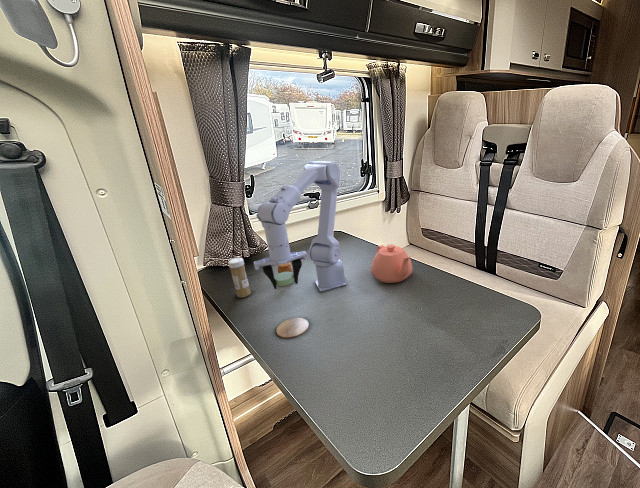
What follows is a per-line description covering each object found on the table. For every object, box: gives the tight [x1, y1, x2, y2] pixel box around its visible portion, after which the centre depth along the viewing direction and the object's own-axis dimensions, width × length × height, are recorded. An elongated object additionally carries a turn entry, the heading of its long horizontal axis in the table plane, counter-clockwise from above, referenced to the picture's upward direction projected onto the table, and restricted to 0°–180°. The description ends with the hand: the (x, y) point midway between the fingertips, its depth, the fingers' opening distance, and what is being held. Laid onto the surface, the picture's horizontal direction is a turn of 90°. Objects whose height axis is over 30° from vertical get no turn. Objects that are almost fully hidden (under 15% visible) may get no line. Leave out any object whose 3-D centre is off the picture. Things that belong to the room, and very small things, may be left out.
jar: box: [276, 262, 293, 274], centre depth 117 cm, size 5×5×8 cm
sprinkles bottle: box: [227, 257, 252, 299], centre depth 108 cm, size 5×5×13 cm
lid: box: [274, 272, 295, 287], centre depth 95 cm, size 6×6×2 cm
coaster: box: [276, 317, 310, 339], centre depth 92 cm, size 9×9×1 cm
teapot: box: [370, 244, 413, 284], centre depth 118 cm, size 22×16×12 cm
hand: (285, 285), depth 95 cm, fingers closed on lid, 5 cm apart
